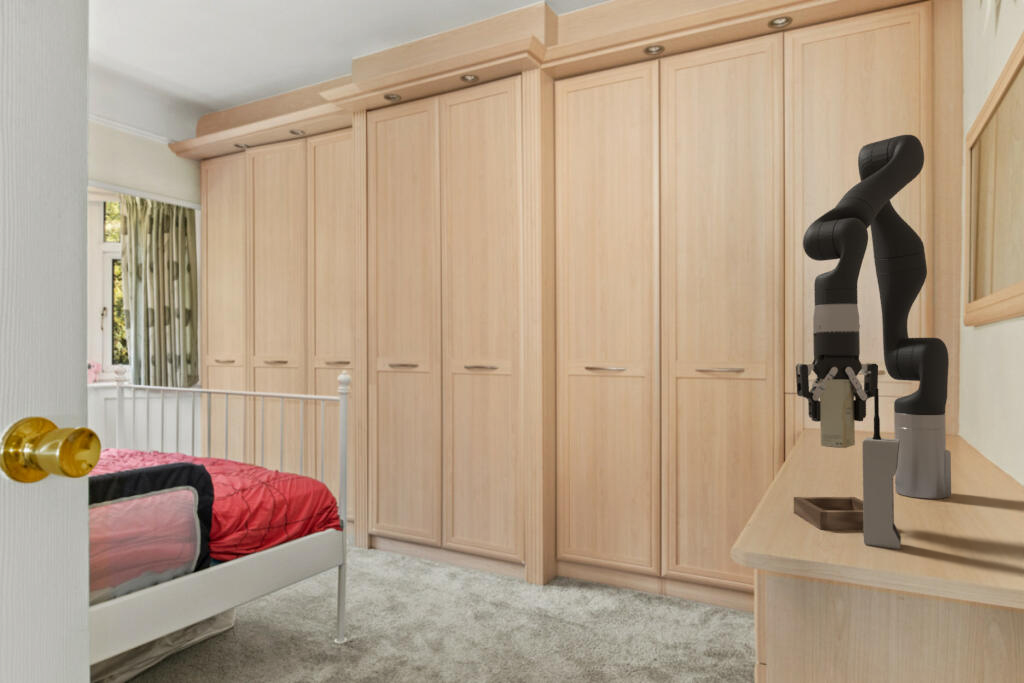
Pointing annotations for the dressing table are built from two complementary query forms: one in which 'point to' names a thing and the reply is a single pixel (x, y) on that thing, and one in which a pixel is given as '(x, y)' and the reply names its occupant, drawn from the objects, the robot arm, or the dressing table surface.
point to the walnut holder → (831, 512)
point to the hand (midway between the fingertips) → (837, 420)
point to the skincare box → (837, 414)
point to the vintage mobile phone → (879, 486)
